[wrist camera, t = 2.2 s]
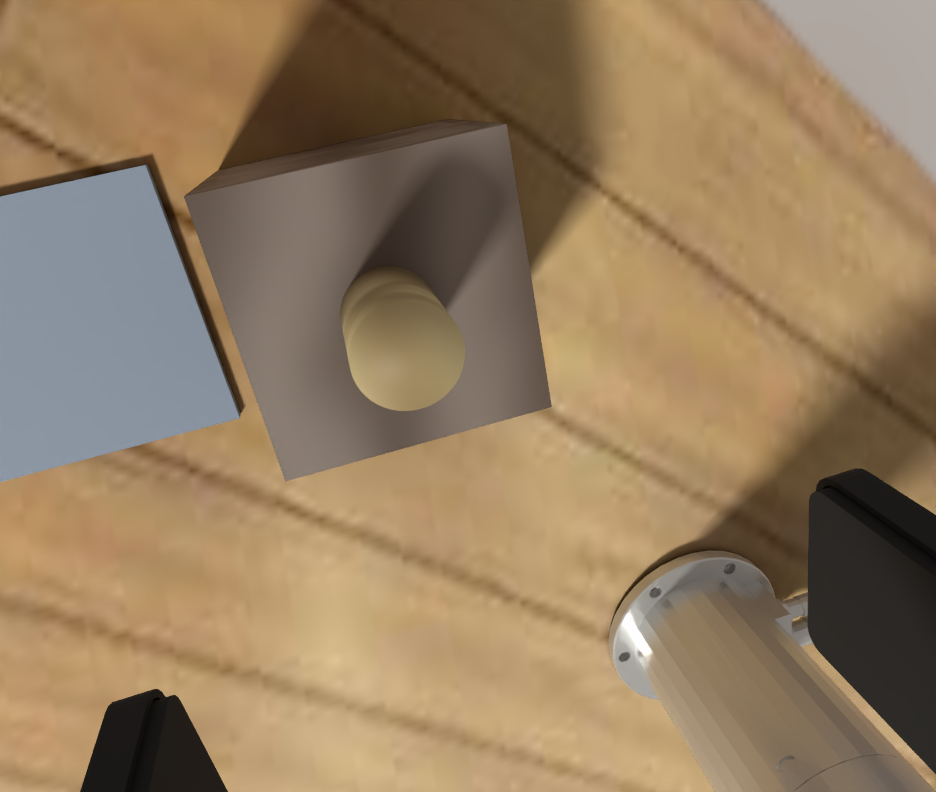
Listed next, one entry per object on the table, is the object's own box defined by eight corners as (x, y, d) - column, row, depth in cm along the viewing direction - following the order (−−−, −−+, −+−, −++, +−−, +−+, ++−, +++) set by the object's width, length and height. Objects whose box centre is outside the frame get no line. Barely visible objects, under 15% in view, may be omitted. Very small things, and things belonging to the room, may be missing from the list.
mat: (147, 164, 32) (145, 164, 31) (240, 414, 37) (239, 417, 37) (-157, 230, 30) (-164, 232, 30) (-14, 481, 36) (-18, 486, 35)
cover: (448, 119, 34) (554, 127, 20) (489, 332, 38) (598, 461, 24) (217, 170, 32) (155, 218, 18) (289, 385, 37) (282, 554, 23)
